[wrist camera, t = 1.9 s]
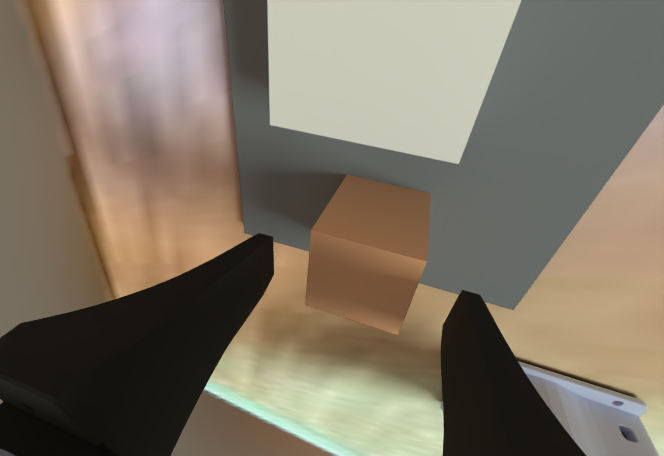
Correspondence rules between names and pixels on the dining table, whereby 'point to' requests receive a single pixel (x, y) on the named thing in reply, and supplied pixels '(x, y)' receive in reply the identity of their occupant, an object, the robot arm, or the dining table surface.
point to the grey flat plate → (472, 142)
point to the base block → (385, 69)
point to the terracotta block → (369, 252)
